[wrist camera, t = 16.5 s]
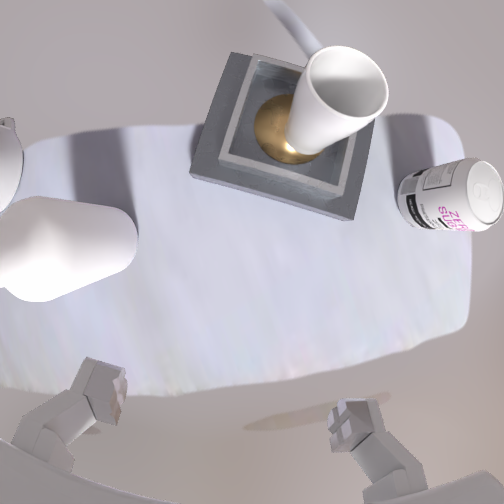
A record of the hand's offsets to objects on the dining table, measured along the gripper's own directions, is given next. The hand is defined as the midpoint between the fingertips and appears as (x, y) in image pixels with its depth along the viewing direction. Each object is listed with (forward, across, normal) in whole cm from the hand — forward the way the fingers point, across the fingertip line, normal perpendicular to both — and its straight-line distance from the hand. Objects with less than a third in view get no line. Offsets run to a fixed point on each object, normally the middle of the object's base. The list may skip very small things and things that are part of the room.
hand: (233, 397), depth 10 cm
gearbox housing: (+34, -4, -5) cm, 35 cm away
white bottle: (+27, +16, +12) cm, 34 cm away
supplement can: (+32, -25, -2) cm, 41 cm away
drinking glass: (+30, -6, -6) cm, 31 cm away
